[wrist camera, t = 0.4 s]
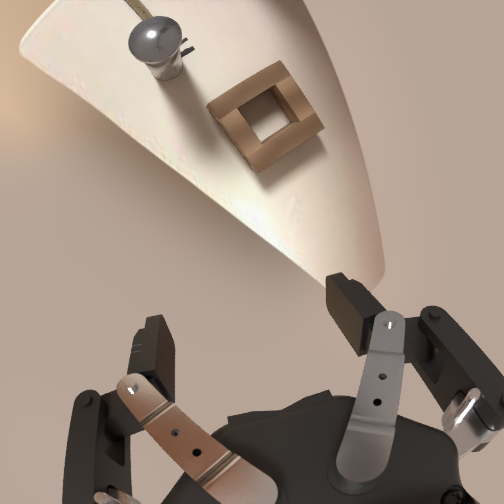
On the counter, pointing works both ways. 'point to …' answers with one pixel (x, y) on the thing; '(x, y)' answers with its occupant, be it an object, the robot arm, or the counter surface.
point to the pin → (158, 46)
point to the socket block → (289, 100)
